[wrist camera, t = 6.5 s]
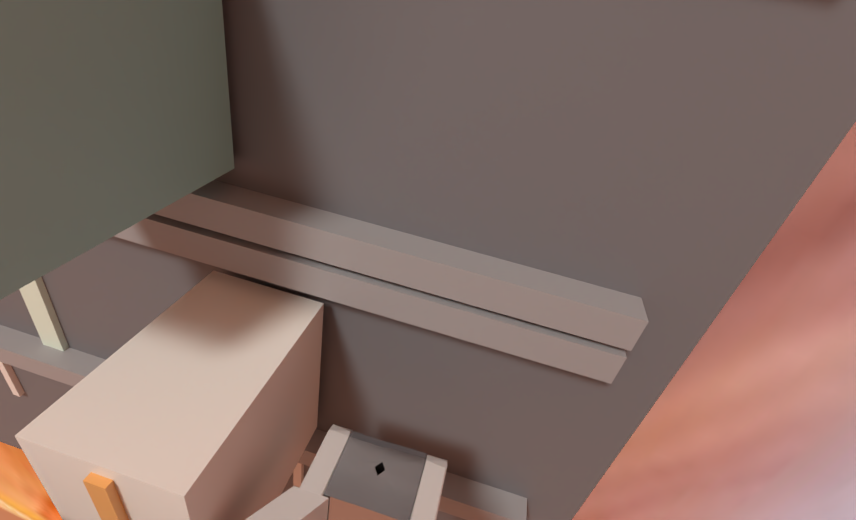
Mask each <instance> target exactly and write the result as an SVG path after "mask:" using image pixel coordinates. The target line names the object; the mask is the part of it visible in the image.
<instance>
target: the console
mask: <svg viewBox="0 0 856 520" xmlns="http://www.w3.org/2000/svg"><path fill="white" fill-rule="evenodd" d="M222 8H223V22H224V35H225V48H226V61H227V75H228V88H229V101H230V115H231V128H232V141H233V154H234V169H232V170H231V171H229V172H227V173H225V174H224V175H222V176H220V177H218V178H216V179H215V180H213V181H211V182H209V183H207V184H206V185H204V186H202V187H200V188H199V189H197V190H195V191H193V192H191V193H190V194H188V195H186V196H184V197H182V198H181V199H179V200H177V201H175V202H174V203H172V204H170V205H168V206H166V207H165V208H163V209H161V210H159V211H157V212H156V213H154V214H152V215H150V216H149V217H147V218H145V219H143V220H141V221H140V222H138V223H136V224H134V225H133V226H131V227H129V228H127V229H125V230H124V231H122V232H120V233H118V234H116V235H115V236H113V237H111V238H109V239H108V240H106V241H104V242H102V243H100V244H99V245H97V246H95V247H93V248H91V249H90V250H88V251H86V252H84V253H83V254H81V255H79V256H77V257H75V258H74V259H72V260H70V261H68V262H66V263H65V264H63V265H61V266H59V267H58V268H56V269H54V270H52V271H50V272H49V273H47V274H45V275H43V276H41V277H40V278H38V279H36V280H34V281H33V282H31V283H29V284H27V285H25V286H24V287H22V288H20V289H18V290H16V291H15V292H13V293H11V294H9V295H8V296H6V297H4V298H2V299H0V442H3V443H6V444H8V445H11V446H14V447H17V448H20V449H22V448H21V446H20V445H19V443H18V441H17V440H16V438H15V435H16V434H17V433H18V432H20V431H21V430H22V429H23V428H24V427H26V426H27V425H28V424H29V423H31V422H32V421H33V420H34V419H35V418H37V417H38V416H39V415H40V414H41V413H43V412H44V411H45V410H46V409H47V408H49V407H50V406H51V405H52V404H53V403H55V402H56V401H57V400H58V399H59V398H61V397H62V396H63V395H64V394H65V393H67V392H68V391H69V390H70V389H71V388H73V387H74V386H75V385H76V384H77V383H79V382H80V381H81V380H82V379H84V378H85V377H86V376H87V375H88V374H90V373H91V372H92V371H93V370H94V369H96V368H97V367H98V366H99V365H100V364H102V363H103V362H104V361H105V360H106V359H108V358H109V357H110V356H111V355H112V354H114V353H115V352H116V351H117V350H118V349H120V348H121V347H122V346H123V345H124V344H126V343H127V342H128V341H129V340H130V339H132V338H133V337H134V336H135V335H137V334H138V333H139V332H140V331H141V330H143V329H144V328H145V327H146V326H147V325H149V324H150V323H151V322H152V321H153V320H155V319H156V318H157V317H158V316H159V315H161V314H162V313H163V312H164V311H165V310H167V309H168V308H169V307H170V306H171V305H173V304H174V303H175V302H176V301H177V300H179V299H180V298H181V297H182V296H184V295H185V294H186V293H187V292H188V291H190V290H191V289H192V288H193V287H194V286H196V285H197V284H198V283H199V282H200V281H202V280H203V279H204V278H205V277H206V276H208V275H209V274H210V273H211V272H212V271H217V272H220V273H224V274H227V275H230V276H234V277H237V278H241V279H244V280H247V281H251V282H254V283H257V284H261V285H264V286H267V287H271V288H274V289H277V290H281V291H284V292H288V293H291V294H294V295H298V296H301V297H304V298H308V299H311V300H314V301H318V302H321V303H324V309H323V327H322V346H321V364H320V383H319V401H318V419H317V428H316V430H315V431H314V433H313V435H312V437H311V439H310V441H309V443H308V445H307V446H306V448H305V450H304V452H303V454H302V456H301V458H300V460H299V461H298V463H297V465H296V467H295V469H294V471H293V473H292V475H291V476H290V478H289V480H288V482H287V484H286V486H285V488H284V490H283V491H282V493H284V492H285V491H287V490H288V489H290V488H291V487H293V486H297V487H300V486H301V484H302V482H303V480H304V478H305V476H306V474H307V472H308V470H309V468H310V466H311V464H312V462H313V460H314V458H315V456H316V454H317V452H318V450H319V448H320V446H321V444H322V442H323V440H324V438H325V436H326V434H327V432H328V430H329V429H330V428H331V426H332V425H333V424H334V425H337V426H340V427H344V428H347V429H350V430H353V431H355V432H358V433H361V434H364V435H367V436H370V437H374V438H377V439H380V440H383V441H386V442H390V443H394V444H397V445H400V446H404V447H407V448H410V449H414V450H417V451H420V452H424V453H427V455H432V456H435V457H438V458H441V459H445V460H448V461H447V471H446V475H445V480H444V485H443V490H442V494H441V499H440V504H439V508H438V513H437V518H436V520H572V519H573V517H574V516H575V514H576V513H577V512H578V510H579V509H580V507H581V506H582V505H583V503H584V502H585V500H586V499H587V498H588V496H589V495H590V493H591V492H592V491H593V489H594V488H595V486H596V485H597V483H598V482H599V481H600V479H601V478H602V476H603V475H604V474H605V472H606V471H607V469H608V468H609V467H610V465H611V464H612V462H613V461H614V460H615V458H616V457H617V455H618V454H619V453H620V451H621V450H622V448H623V447H624V446H625V444H626V443H627V441H628V440H629V439H630V437H631V436H632V434H633V433H634V432H635V430H636V429H637V427H638V426H639V425H640V423H641V422H642V420H643V419H644V418H645V416H646V415H647V413H648V412H649V411H650V409H651V408H652V406H653V405H654V404H655V402H656V401H657V399H658V398H659V397H660V395H661V394H662V392H663V391H664V389H665V388H666V387H667V385H668V384H669V382H670V381H671V380H672V378H673V377H674V375H675V374H676V373H677V371H678V370H679V368H680V367H681V366H682V364H683V363H684V361H685V360H686V359H687V357H688V356H689V354H690V353H691V352H692V350H693V349H694V347H695V346H696V345H697V343H698V342H699V340H700V339H701V338H702V336H703V335H704V333H705V332H706V331H707V329H708V328H709V326H710V325H711V324H712V322H713V321H714V319H715V318H716V317H717V315H718V314H719V312H720V311H721V310H722V308H723V307H724V305H725V304H726V303H727V301H728V300H729V298H730V297H731V296H732V294H733V293H734V291H735V290H736V288H737V287H738V286H739V284H740V283H741V281H742V280H743V279H744V277H745V276H746V274H747V273H748V272H749V270H750V269H751V267H752V266H753V265H754V263H755V262H756V260H757V259H758V258H759V256H760V255H761V253H762V252H763V251H764V249H765V248H766V246H767V245H768V244H769V242H770V241H771V239H772V238H773V237H774V235H775V234H776V232H777V231H778V230H779V228H780V227H781V225H782V224H783V223H784V221H785V220H786V218H787V217H788V216H789V214H790V213H791V211H792V210H793V209H794V207H795V206H796V204H797V203H798V202H799V200H800V199H801V197H802V196H803V194H804V193H805V192H806V190H807V189H808V187H809V186H810V185H811V183H812V182H813V180H814V179H815V178H816V176H817V175H818V173H819V172H820V171H821V169H822V168H823V166H824V165H825V164H826V162H827V161H828V159H829V158H830V157H831V155H832V154H833V152H834V151H835V150H836V148H837V147H838V145H839V144H840V143H841V141H842V140H843V138H844V137H845V136H846V134H847V133H848V131H849V130H850V129H851V127H852V126H853V124H854V123H855V122H856V0H222ZM282 493H281V494H282Z"/></svg>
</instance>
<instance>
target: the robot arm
mask: <svg viewBox="0 0 856 520" xmlns="http://www.w3.org/2000/svg"><path fill="white" fill-rule="evenodd" d="M447 461H448V460H445V459H441V458H438V457H435V456H432V455H427V453H424V452H420V451H417V450H414V449H410V448H407V447H404V446H400V445H397V444H394V443H390V442H386V441H383V440H380V439H377V438H374V437H370V436H367V435H364V434H361V433H358V432H355V431H353V430H350V429H347V428H344V427H340V426H337V425H334V424H333V425H332V426H331V428H330V429H329V430H328V432H327V434H326V436H325V438H324V440H323V442H322V444H321V446H320V448H319V450H318V452H317V454H316V456H315V458H314V460H313V462H312V464H311V466H310V468H309V470H308V472H307V474H306V476H305V478H304V480H303V482H302V484H301V486H300V487H297V486H293V487H291V488H290V489H288V490H287V491H285V492H284V493H282V494H281V495H280V496H278V497H277V498H275V499H274V500H272V501H271V502H270V503H268V504H267V505H265V506H264V507H262V508H261V509H259V510H258V511H257V512H255V513H254V514H252V515H251V516H249V517H248V518H247V519H245V520H436V518H437V513H438V508H439V504H440V499H441V494H442V490H443V485H444V480H445V475H446V471H447Z"/></svg>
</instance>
